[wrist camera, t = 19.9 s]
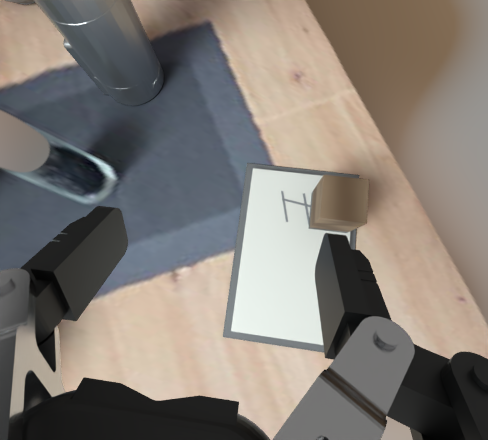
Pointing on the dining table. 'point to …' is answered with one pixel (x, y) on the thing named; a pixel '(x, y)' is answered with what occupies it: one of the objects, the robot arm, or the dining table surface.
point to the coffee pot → (22, 1)
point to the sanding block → (339, 204)
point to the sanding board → (277, 260)
